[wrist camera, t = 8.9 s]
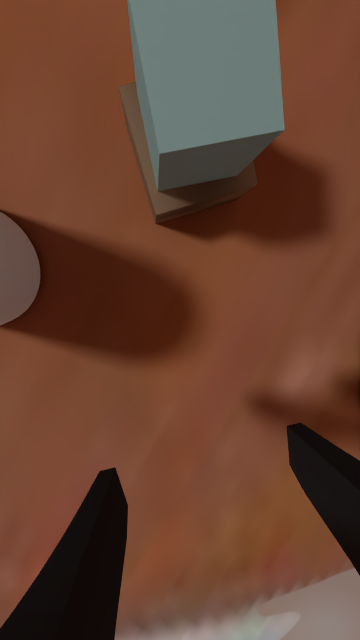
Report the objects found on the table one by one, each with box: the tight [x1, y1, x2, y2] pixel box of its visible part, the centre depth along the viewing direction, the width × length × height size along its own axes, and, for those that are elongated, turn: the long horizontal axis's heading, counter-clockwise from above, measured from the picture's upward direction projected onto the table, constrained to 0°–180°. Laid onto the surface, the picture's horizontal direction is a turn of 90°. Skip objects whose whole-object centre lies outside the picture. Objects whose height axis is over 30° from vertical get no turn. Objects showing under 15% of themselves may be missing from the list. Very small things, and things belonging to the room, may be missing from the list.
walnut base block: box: [118, 82, 258, 224], centre depth 14 cm, size 6×6×4 cm
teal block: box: [127, 0, 284, 191], centre depth 10 cm, size 4×4×5 cm
